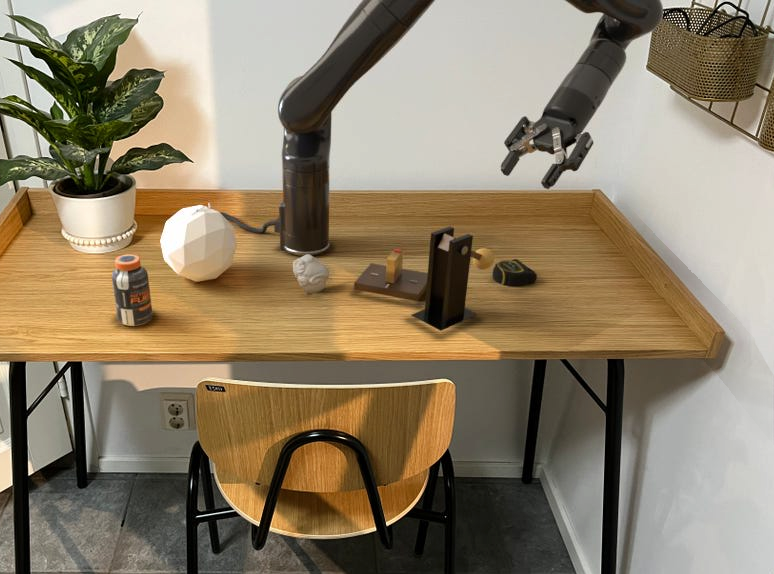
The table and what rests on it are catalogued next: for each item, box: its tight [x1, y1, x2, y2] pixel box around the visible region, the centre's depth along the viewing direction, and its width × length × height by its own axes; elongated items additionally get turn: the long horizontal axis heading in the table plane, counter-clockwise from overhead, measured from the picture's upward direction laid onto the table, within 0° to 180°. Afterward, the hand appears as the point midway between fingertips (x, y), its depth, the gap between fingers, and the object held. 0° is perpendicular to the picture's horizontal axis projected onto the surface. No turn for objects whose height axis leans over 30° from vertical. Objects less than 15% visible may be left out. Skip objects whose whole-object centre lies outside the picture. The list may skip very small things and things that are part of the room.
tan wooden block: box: [385, 248, 404, 284], centre depth 139 cm, size 5×2×5 cm, turn 155°
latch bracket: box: [411, 225, 478, 332], centre depth 127 cm, size 9×7×16 cm
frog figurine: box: [292, 254, 330, 295], centre depth 139 cm, size 6×7×7 cm
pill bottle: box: [111, 254, 154, 327], centre depth 130 cm, size 6×6×11 cm
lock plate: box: [353, 262, 428, 302], centre depth 140 cm, size 12×9×3 cm
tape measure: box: [491, 258, 538, 288], centre depth 142 cm, size 7×7×4 cm
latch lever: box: [438, 234, 495, 270], centre depth 128 cm, size 13×4×4 cm, turn 129°
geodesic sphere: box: [159, 204, 237, 283], centre depth 144 cm, size 15×14×14 cm
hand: (523, 179), depth 130 cm, fingers open, 8 cm apart
